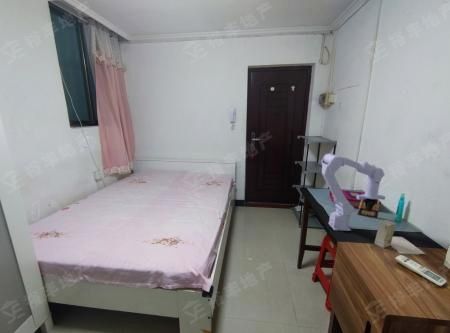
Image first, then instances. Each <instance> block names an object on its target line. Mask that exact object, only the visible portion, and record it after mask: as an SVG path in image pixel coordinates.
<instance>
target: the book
mask: <svg viewBox="0 0 450 333" xmlns="http://www.w3.org/2000/svg"><path fill="white" fill-rule="evenodd" d="M341 190H342V192H343V194H344V196H345V198H346V199H347V200H348V201H349V203H350V204H351V205H352V206H353V207H354V210H355V209H356V210H359V206H360V202H361V199H360V200H358V199H357V198H356V197H357V195H362V194H365V191H363V192H362V191H354V190H345V189H341ZM330 197H331V198H330ZM329 198H330V199H332V200H333V201H332V200H331V201H332V203H333V202H334V197H333V195H332V193H331V191H330V190H329ZM376 200H377V201H378V200H379V199H376ZM379 201H380V200H379ZM363 203H364V200H363ZM334 204H335V202H334V203H333V205H334ZM376 205H377V203H376ZM379 205H382V201H380V203H379ZM362 207H363V206H362ZM375 209H376V208H375ZM378 212H380V209H379V210H378Z"/></svg>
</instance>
